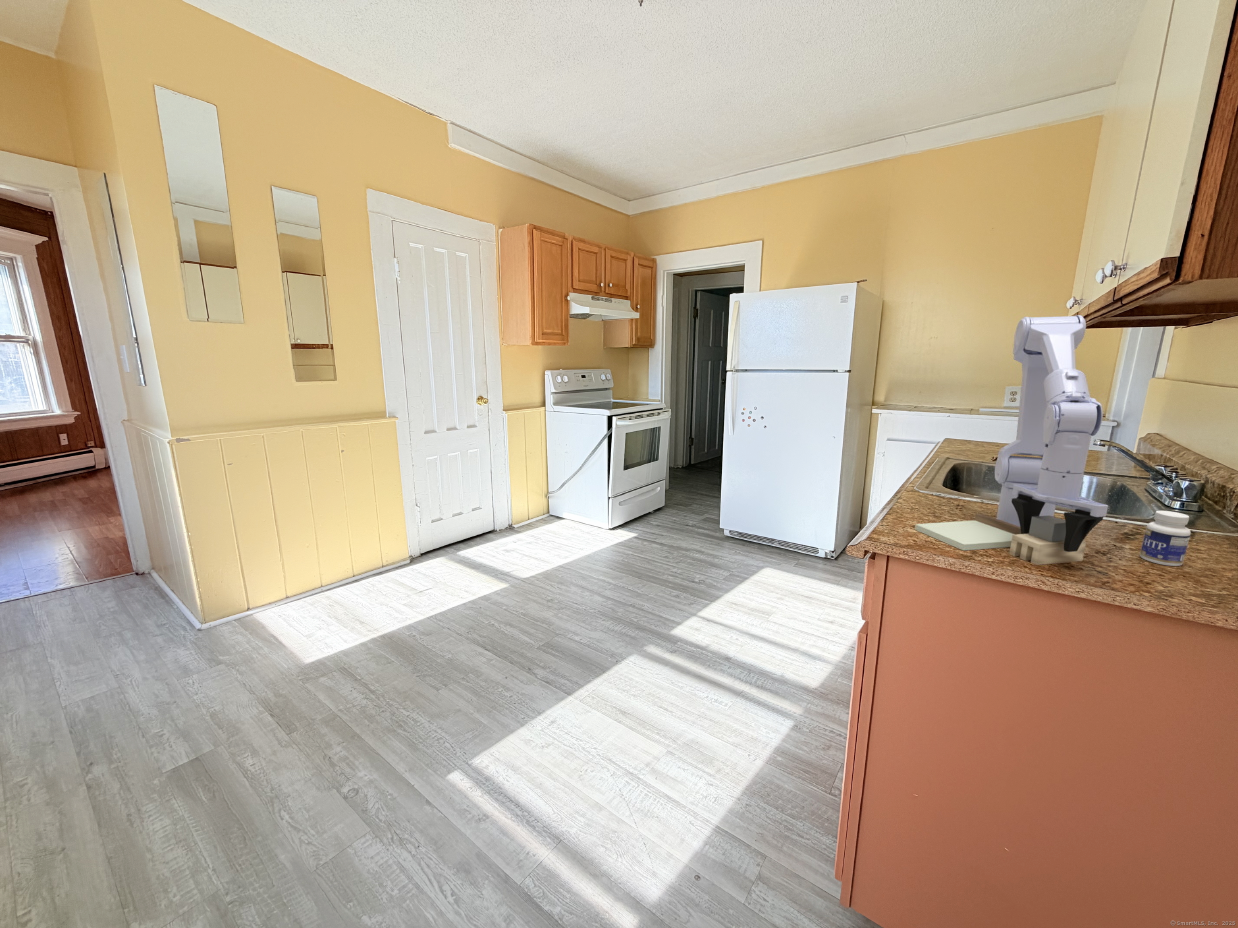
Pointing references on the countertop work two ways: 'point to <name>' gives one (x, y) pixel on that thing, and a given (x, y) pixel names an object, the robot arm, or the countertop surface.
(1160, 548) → the pill bottle
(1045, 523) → the gray cube
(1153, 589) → the countertop surface
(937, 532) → the pale green flat slab
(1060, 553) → the pallet
